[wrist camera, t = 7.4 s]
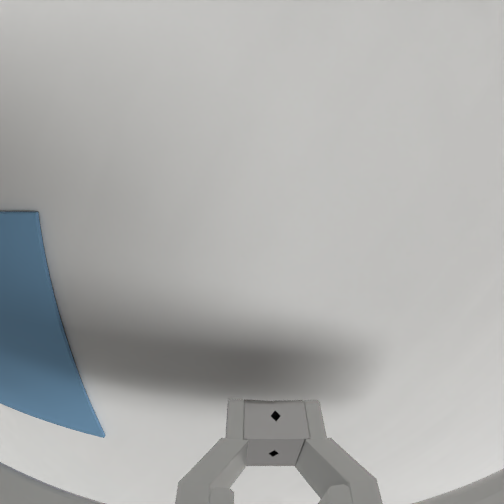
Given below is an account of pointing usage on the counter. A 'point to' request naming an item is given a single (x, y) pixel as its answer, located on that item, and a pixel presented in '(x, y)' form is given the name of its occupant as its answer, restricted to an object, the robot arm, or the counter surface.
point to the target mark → (36, 334)
